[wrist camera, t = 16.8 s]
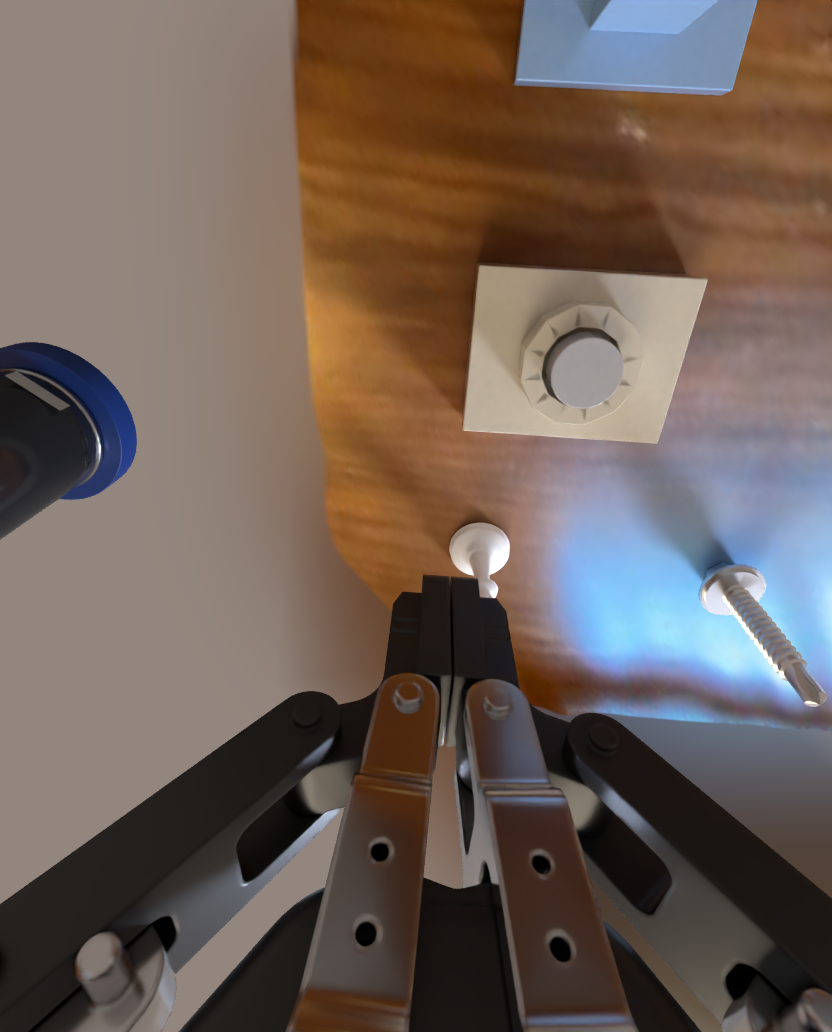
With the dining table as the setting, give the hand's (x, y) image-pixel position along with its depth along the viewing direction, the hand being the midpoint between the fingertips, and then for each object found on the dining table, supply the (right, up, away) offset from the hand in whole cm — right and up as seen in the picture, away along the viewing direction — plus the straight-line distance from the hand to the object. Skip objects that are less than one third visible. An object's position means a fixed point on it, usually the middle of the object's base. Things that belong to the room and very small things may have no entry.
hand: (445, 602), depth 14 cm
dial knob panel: (+9, +13, +20) cm, 25 cm away
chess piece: (+4, 0, +28) cm, 28 cm away
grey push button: (+9, +11, +16) cm, 22 cm away
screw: (+24, -2, +28) cm, 37 cm away
